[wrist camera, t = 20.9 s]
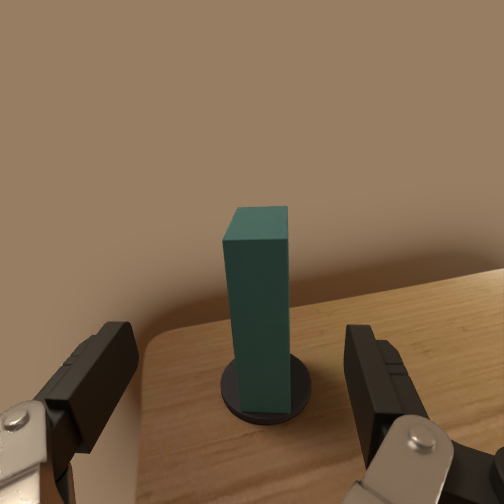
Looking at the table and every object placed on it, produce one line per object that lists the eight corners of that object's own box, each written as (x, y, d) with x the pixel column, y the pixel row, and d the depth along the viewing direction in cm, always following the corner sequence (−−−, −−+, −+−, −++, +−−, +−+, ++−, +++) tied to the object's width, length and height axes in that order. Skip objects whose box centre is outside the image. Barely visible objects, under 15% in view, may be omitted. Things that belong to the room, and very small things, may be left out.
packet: (240, 412, 22) (222, 239, 17) (249, 352, 28) (237, 207, 22) (290, 414, 22) (288, 238, 17) (289, 352, 27) (287, 205, 22)
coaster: (213, 422, 22) (212, 416, 22) (228, 352, 29) (228, 347, 28) (314, 427, 22) (314, 420, 21) (307, 354, 28) (308, 348, 28)
